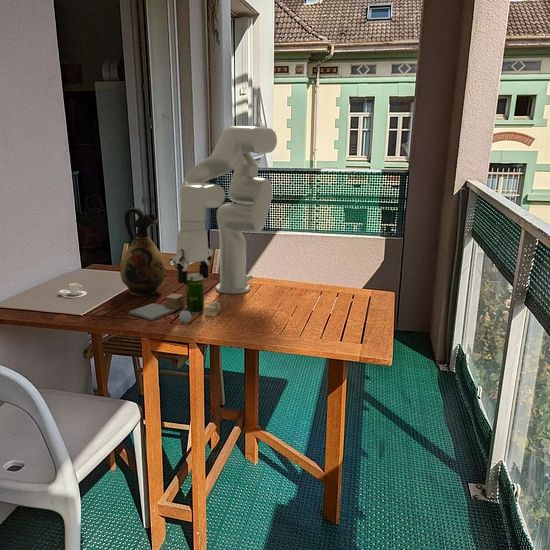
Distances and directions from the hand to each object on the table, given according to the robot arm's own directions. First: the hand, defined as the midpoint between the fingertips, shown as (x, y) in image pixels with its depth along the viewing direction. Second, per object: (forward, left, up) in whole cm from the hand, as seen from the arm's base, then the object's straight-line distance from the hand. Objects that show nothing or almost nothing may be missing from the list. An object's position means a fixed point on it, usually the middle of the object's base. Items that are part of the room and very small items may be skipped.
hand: (193, 280), depth 153 cm
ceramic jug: (-5, -29, -11) cm, 31 cm away
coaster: (+8, -10, -11) cm, 17 cm away
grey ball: (+8, +4, -9) cm, 13 cm away
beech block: (-3, +5, -11) cm, 12 cm away
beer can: (-1, 0, -11) cm, 11 cm away
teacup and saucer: (+10, -48, -11) cm, 51 cm away
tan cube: (0, -8, -11) cm, 13 cm away
